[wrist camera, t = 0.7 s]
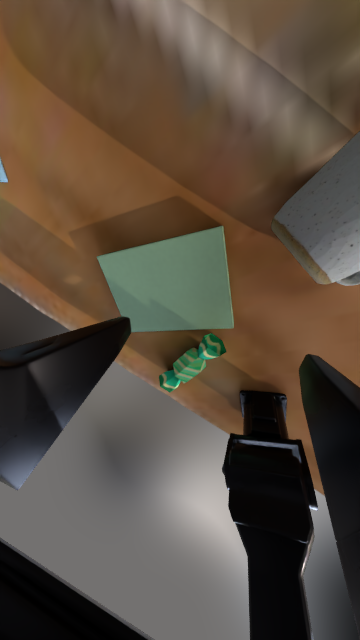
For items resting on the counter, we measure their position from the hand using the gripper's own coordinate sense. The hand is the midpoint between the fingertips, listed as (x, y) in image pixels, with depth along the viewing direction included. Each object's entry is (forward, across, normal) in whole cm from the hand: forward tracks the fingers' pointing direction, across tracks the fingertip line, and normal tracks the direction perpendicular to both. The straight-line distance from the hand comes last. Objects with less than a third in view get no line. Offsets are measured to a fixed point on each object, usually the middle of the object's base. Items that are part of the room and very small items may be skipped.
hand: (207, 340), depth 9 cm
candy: (+14, +3, +14) cm, 20 cm away
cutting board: (+14, +7, +3) cm, 16 cm away
